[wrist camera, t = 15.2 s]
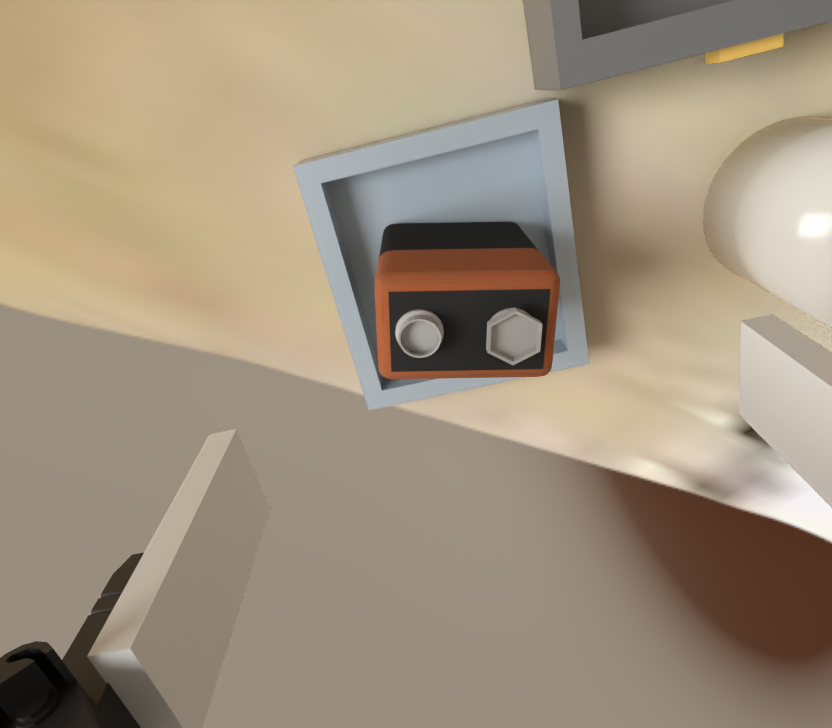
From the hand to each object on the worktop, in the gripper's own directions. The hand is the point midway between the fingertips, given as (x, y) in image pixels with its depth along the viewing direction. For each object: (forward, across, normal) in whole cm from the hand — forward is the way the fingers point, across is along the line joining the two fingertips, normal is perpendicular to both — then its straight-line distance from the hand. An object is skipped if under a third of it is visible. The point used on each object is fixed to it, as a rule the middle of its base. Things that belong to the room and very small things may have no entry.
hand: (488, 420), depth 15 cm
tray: (+17, 0, 0) cm, 17 cm away
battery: (+16, 0, 0) cm, 16 cm away
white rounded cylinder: (+17, +17, -2) cm, 24 cm away
